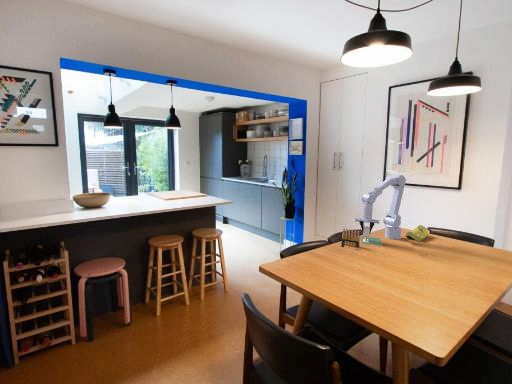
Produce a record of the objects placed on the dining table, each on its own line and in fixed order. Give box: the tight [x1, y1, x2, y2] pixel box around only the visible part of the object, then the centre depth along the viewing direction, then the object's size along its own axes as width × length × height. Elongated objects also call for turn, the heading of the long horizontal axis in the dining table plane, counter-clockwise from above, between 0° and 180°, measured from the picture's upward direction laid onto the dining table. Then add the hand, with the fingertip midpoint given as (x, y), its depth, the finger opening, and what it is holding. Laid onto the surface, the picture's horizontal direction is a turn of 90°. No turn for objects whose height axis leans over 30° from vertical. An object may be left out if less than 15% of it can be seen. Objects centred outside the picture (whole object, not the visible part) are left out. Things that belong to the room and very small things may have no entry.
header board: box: [360, 235, 384, 247], centre depth 187 cm, size 12×18×4 cm, turn 162°
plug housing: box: [362, 225, 371, 237], centre depth 186 cm, size 4×7×5 cm, turn 162°
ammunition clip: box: [340, 227, 361, 251], centre depth 177 cm, size 11×2×12 cm, turn 55°
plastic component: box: [403, 224, 431, 242], centre depth 202 cm, size 20×7×10 cm
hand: (366, 233), depth 187 cm, fingers closed on plug housing, 4 cm apart
